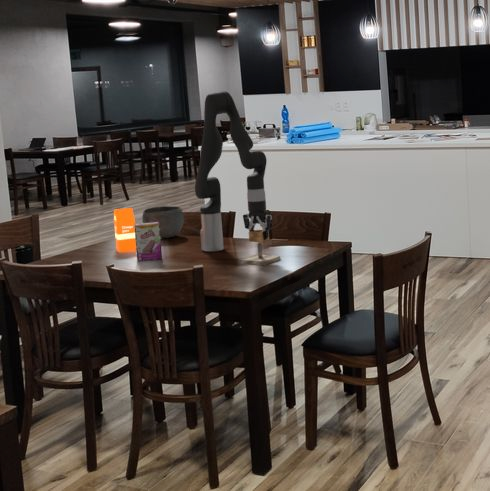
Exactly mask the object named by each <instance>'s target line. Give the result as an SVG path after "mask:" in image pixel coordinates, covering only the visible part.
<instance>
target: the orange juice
mask: <svg viewBox="0 0 490 491" xmlns="http://www.w3.org/2000/svg"><path fill="white" fill-rule="evenodd" d="M134 224H136V220H135V216H134V210H133V207H126V208H115V209H113V226H114V235H115V236H114V237H115V247H116V251H117V252H118V253H127V252H135V251H136V240H135V228H134Z"/></svg>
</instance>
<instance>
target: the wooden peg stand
mask: <svg viewBox="0 0 490 491" xmlns="http://www.w3.org/2000/svg"><path fill="white" fill-rule="evenodd" d="M280 260H281V256H280V255H277V254H275V255H273V254H263V244H262V242H257V253H256V254H254V255H251V256H248V257H244V258H242V259H240V264H244V265H245V264H246V265H258V266H266V265H269V264H271V263H275V262H276V261H280Z"/></svg>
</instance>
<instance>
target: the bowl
mask: <svg viewBox="0 0 490 491" xmlns="http://www.w3.org/2000/svg"><path fill="white" fill-rule="evenodd" d="M141 219H142V223H153V222H159V224H160V237H161V240H163V239H162V238H167V239H170V237H171V238H173V237H175V236H177V235H178V234H179V233H180V231H181V230H182V228H183V226H184V223H185V216H184V213H183V210H182V208H181V207H180V206H176V205H174V206H173V205H171V206H166V205H165V206H154V207H150V208H149V207H148V208H146V209H144V210H143V212H142V218H141Z"/></svg>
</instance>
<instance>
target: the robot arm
mask: <svg viewBox="0 0 490 491" xmlns="http://www.w3.org/2000/svg"><path fill="white" fill-rule="evenodd" d="M203 113H204V114H203V115H204V116H203V117H204V118H203V119H204V120H203V121H204V122H203V131H202V139H201V147H200V154H199V155H200V158H199V163H198V164H199V165H198V169H197V175H196V178H195V184H194V193H195V196H196V197H197V199H200V200H203V199H204V200H205V199H209V200H208V202H206V204H204V205H202V206H201V207H200V211H199V213H200V222H201V229H200V230H199V232H200V233H199V235H200V243H201V244H200V246H201V251H204V252H218V251H223V250H224V236H223V224H222V211H221V208H222V201H221V200H222V199H221V198H222V192H221V182H220V180H219V178H217V177H215V176H211V177H209V174H210V172H211V170H212V169H213V168H214V166H216V164H217V163H218V161H219V160H220V158H221V156H222V153H223V146H224V145H223V144H224V140H223V137H222V135H221V133H220V131H219V129H218V127H217V116H218V115H221V114H226V115H227V116H228V118H229V120H230V121H229V122H230V126H229V135H230V139H231V140H232V142H233V144H234V145H235V147H236V148H237V152H238V156H239V159H240V164H241V166H242V167H244V168H245V169H246V170H253V172H252V173H251V174H249V175H247V176H246V186H247V188H246V190H247V193H246V194H247V196H246V197H247V199H246V200H247V210H248V213H246V214H243V215H242V219H243V224H244V228H245V229H247V230H248V233H249V232H251V231H254V230H255V226H256V225H257V224H258V225H260V227H261V228H262V229H261V230H263V238H264V240H266V239H268V230H272V229H273V219H274V218H273V217H274V216H273V214H267V202H266V191H265V181H264V178H265V174H266V168H267V163H268V162H267V160H268V159H267V156H266V154H265V153H264V151H261V150H256V151H255V150H254V151H250V150H252V149H253V147H254V142H253V139H252V138H251V136H250V134H249V133H248V131H247V130H246V127H245V126H244V123H243V122H242V119H241V116H240V113H239V111H238V109H237V106H236V103H235V101H234V98H233V96H232V95H231V94H230V93H229V92H228V91H226V90H225V91H218V92H217V91H216V92H211V93H208V94H207V95H206V97H205V100H204V112H203ZM266 241H267V240H266Z"/></svg>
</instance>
